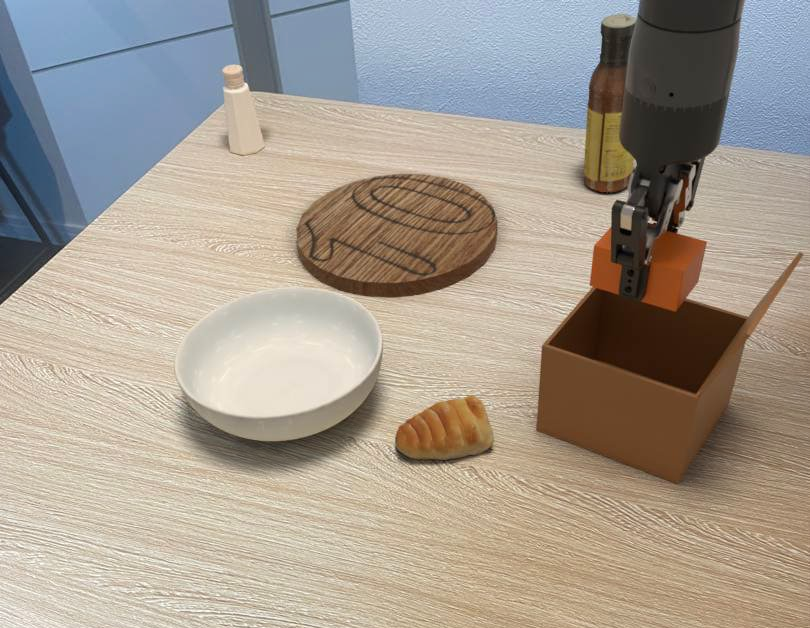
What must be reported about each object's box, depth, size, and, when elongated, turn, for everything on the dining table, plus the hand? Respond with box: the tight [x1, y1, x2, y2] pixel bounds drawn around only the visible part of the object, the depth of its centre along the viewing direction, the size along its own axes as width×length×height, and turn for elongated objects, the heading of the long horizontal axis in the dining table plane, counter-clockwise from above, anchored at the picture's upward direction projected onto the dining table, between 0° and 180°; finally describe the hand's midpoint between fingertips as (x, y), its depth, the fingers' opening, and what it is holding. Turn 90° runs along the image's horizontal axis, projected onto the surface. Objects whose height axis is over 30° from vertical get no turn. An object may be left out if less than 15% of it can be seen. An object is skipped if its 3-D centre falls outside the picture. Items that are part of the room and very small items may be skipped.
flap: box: [699, 251, 804, 393], centre depth 77 cm, size 7×13×1 cm
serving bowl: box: [173, 286, 384, 442], centre depth 93 cm, size 21×21×7 cm
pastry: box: [394, 394, 495, 461], centre depth 89 cm, size 9×7×4 cm
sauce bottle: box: [583, 13, 637, 194], centre depth 113 cm, size 7×6×20 cm
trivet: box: [295, 173, 498, 298], centre depth 114 cm, size 25×25×2 cm
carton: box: [535, 286, 749, 485], centre depth 87 cm, size 15×13×10 cm
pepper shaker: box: [221, 64, 266, 156], centre depth 129 cm, size 5×5×11 cm
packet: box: [589, 226, 708, 312], centre depth 78 cm, size 8×5×4 cm, turn 57°
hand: (645, 280), depth 80 cm, fingers closed on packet, 5 cm apart
